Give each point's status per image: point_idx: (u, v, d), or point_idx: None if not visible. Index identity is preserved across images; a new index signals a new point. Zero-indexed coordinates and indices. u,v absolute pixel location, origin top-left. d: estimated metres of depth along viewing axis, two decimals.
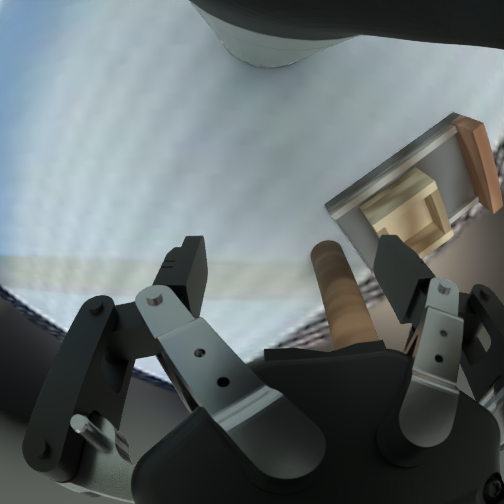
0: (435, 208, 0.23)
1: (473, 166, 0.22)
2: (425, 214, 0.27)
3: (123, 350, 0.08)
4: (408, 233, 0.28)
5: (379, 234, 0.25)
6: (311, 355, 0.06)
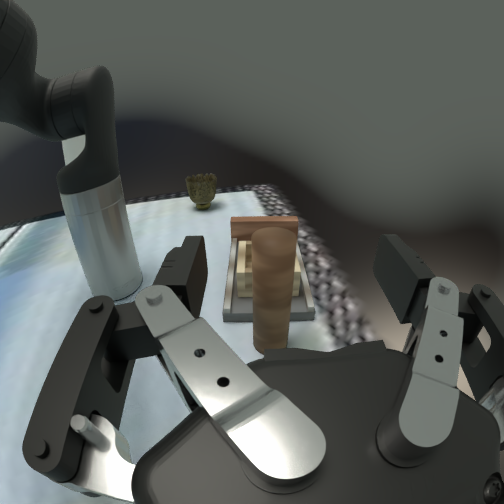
0: None
1: None
2: None
3: (124, 350, 0.08)
4: None
5: (247, 271, 0.34)
6: (312, 354, 0.06)
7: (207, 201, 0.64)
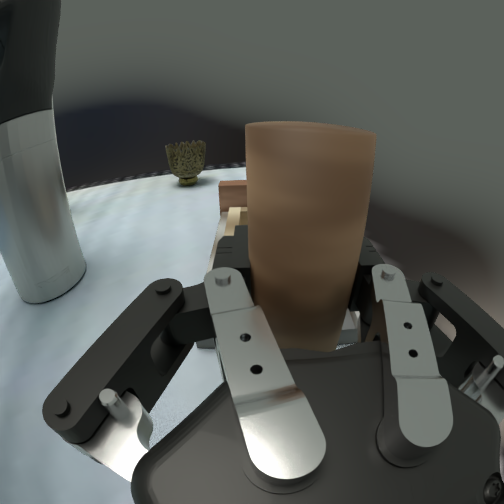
0: None
1: None
2: None
3: (188, 333, 0.08)
4: None
5: None
6: (312, 354, 0.06)
7: (192, 173, 0.48)
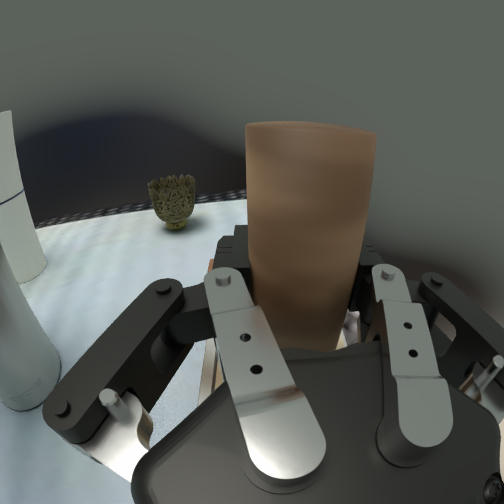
0: None
1: None
2: None
3: (188, 333, 0.08)
4: None
5: None
6: (312, 355, 0.06)
7: (181, 218, 0.41)
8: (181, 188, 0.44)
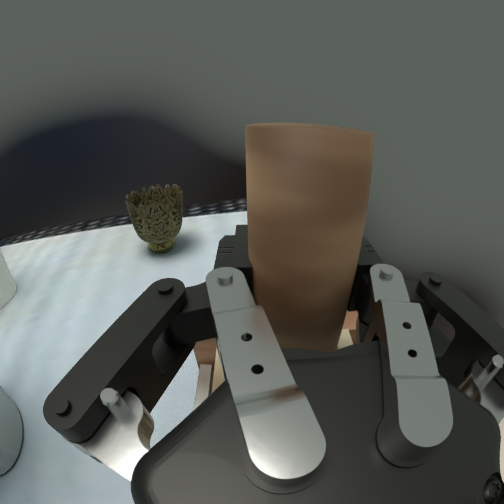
0: None
1: None
2: None
3: (190, 333, 0.08)
4: None
5: None
6: (311, 355, 0.06)
7: (165, 239, 0.33)
8: (167, 200, 0.36)
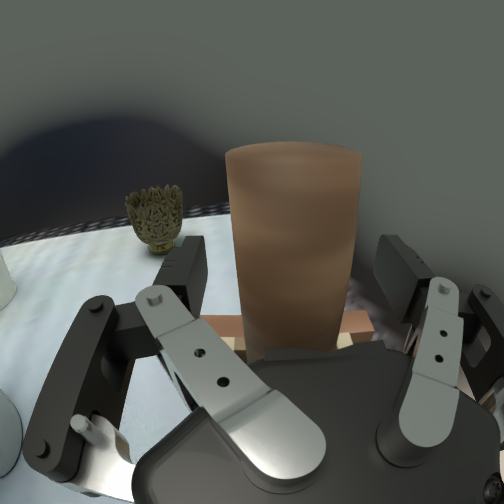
0: None
1: None
2: None
3: (124, 350, 0.08)
4: None
5: None
6: (312, 354, 0.06)
7: (165, 240, 0.33)
8: (167, 202, 0.36)
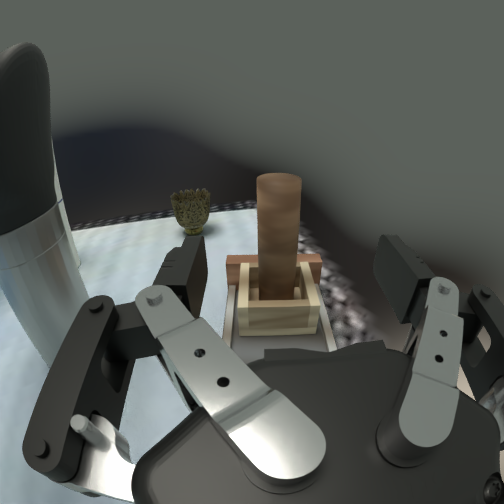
0: None
1: None
2: None
3: (123, 350, 0.08)
4: None
5: (252, 306, 0.26)
6: (312, 354, 0.06)
7: (198, 225, 0.50)
8: (197, 200, 0.54)
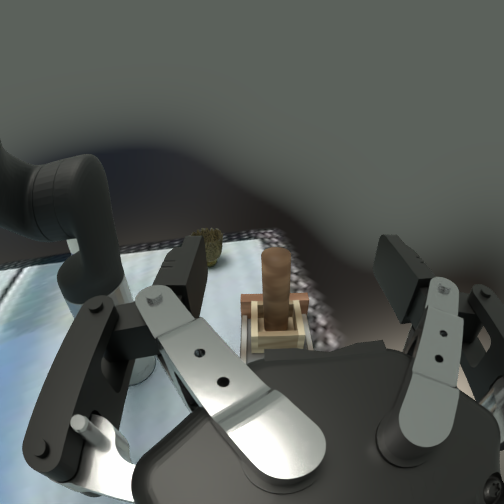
0: None
1: None
2: None
3: (124, 350, 0.08)
4: None
5: (260, 335, 0.39)
6: (311, 355, 0.06)
7: (213, 259, 0.63)
8: (211, 236, 0.66)
